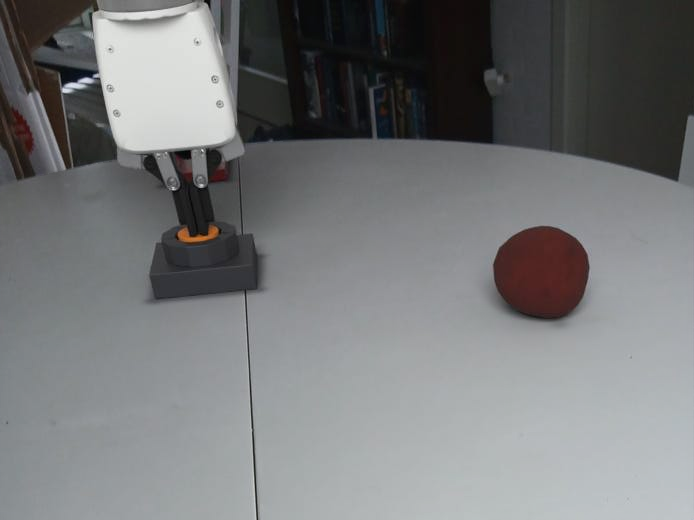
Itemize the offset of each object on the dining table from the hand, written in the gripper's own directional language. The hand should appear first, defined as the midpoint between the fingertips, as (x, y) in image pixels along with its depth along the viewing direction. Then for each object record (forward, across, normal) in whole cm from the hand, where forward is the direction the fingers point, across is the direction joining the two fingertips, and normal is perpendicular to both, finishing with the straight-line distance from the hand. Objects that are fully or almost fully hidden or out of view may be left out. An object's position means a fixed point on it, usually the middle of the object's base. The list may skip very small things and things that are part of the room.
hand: (199, 230), depth 88 cm
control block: (+4, 0, 0) cm, 4 cm away
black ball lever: (-2, +3, -31) cm, 31 cm away
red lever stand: (+4, +3, -34) cm, 34 cm away
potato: (+4, -28, +15) cm, 32 cm away
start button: (+2, 0, 0) cm, 2 cm away
